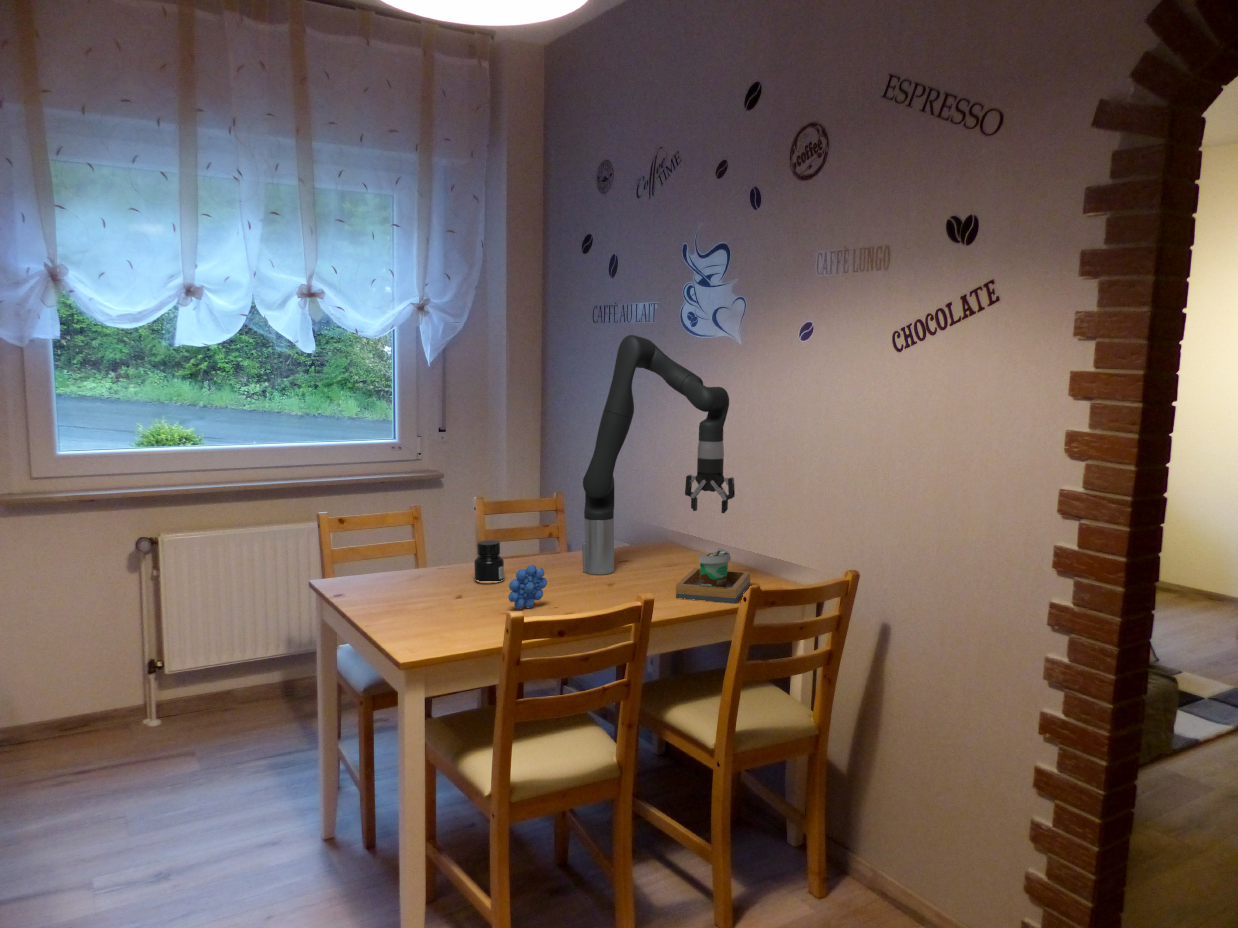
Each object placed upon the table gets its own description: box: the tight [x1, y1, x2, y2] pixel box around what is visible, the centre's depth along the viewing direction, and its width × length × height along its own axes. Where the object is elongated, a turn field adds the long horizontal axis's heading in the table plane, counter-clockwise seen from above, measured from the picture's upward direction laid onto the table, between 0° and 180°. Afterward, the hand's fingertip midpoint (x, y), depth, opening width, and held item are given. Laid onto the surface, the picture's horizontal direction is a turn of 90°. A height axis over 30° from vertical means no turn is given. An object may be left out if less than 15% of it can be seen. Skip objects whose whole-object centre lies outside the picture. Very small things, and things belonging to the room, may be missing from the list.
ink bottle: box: [473, 539, 505, 581], centre depth 277 cm, size 10×9×12 cm
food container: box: [698, 547, 731, 587], centre depth 262 cm, size 12×6×10 cm, turn 147°
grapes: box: [507, 564, 548, 610], centre depth 248 cm, size 12×7×12 cm, turn 123°
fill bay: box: [675, 567, 751, 605], centre depth 263 cm, size 17×21×4 cm
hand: (709, 511), depth 265 cm, fingers open, 8 cm apart
